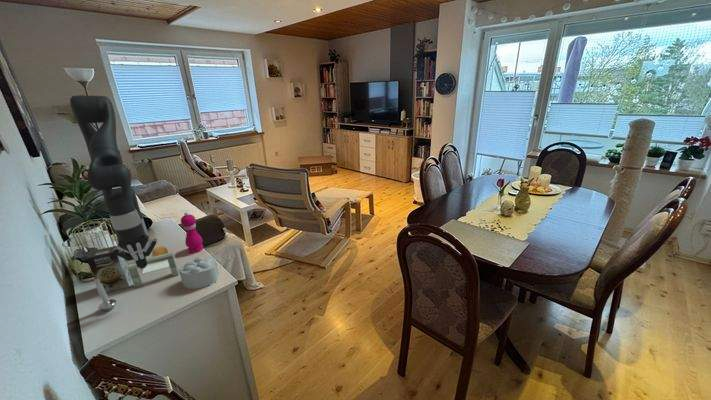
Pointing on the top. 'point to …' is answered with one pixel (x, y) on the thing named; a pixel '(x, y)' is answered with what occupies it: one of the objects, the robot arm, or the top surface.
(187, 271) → the lumpy-topped squat cylinder
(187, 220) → the pepper mill
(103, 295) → the screw
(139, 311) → the top surface
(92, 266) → the coffee box
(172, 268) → the bridge
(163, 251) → the ball
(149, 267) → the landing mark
